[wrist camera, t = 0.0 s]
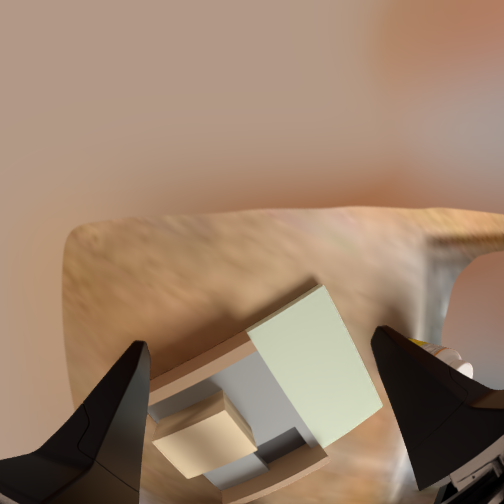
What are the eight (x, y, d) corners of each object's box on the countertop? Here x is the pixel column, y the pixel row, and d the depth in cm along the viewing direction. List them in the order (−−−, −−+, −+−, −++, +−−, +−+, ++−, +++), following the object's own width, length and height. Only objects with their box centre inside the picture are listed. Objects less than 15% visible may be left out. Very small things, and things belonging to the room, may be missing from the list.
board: (225, 487, 22) (227, 509, 18) (137, 386, 22) (125, 403, 18) (376, 401, 26) (395, 414, 22) (318, 284, 26) (336, 285, 22)
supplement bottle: (413, 374, 27) (472, 399, 16) (377, 387, 26) (435, 422, 16) (416, 331, 27) (481, 346, 17) (379, 341, 26) (445, 364, 16)
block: (222, 389, 22) (225, 409, 18) (250, 427, 22) (257, 450, 18) (159, 419, 21) (151, 441, 17) (189, 454, 21) (187, 479, 17)
